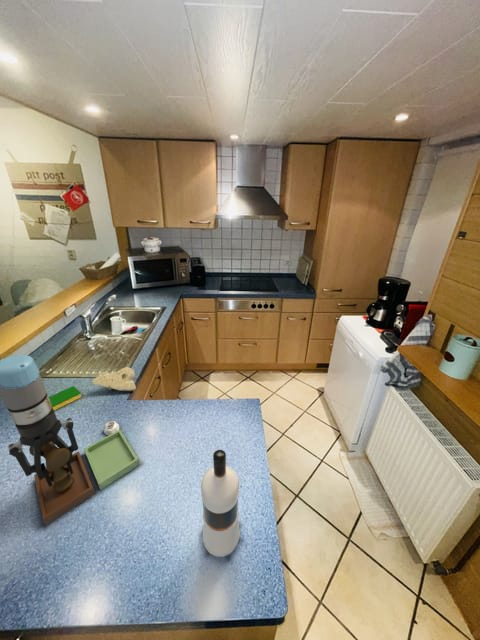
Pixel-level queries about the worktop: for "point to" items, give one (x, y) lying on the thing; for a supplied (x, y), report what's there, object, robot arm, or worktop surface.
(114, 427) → the white jar
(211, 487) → the vodka
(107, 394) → the worktop surface
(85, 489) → the walnut tray
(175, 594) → the worktop surface
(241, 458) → the worktop surface
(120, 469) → the green tray
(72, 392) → the dish sponge
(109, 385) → the cheese
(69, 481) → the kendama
